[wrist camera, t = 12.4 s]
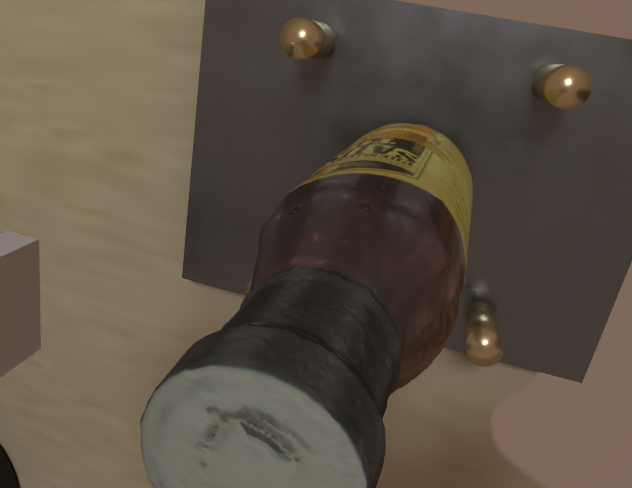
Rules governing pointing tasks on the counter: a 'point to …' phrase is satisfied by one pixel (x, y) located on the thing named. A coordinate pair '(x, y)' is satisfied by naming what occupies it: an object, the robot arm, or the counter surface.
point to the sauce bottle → (323, 325)
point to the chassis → (443, 116)
